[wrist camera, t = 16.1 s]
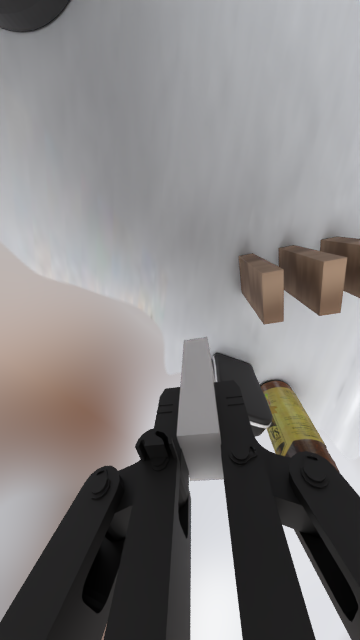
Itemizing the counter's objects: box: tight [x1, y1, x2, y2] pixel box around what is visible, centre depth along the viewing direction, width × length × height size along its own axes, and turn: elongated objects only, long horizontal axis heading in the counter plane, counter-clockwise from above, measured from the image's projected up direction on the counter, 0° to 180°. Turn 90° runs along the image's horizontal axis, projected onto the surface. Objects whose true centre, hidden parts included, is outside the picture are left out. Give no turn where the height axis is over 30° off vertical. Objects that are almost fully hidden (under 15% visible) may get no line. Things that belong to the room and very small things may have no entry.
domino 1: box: [239, 253, 284, 324], centre depth 23 cm, size 5×2×10 cm, turn 12°
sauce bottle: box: [261, 381, 339, 472], centre depth 27 cm, size 7×6×20 cm
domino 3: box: [320, 237, 360, 298], centre depth 22 cm, size 5×2×10 cm, turn 12°
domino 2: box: [279, 245, 347, 316], centre depth 23 cm, size 5×2×10 cm, turn 12°
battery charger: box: [212, 353, 273, 437], centre depth 29 cm, size 7×4×11 cm, turn 70°
